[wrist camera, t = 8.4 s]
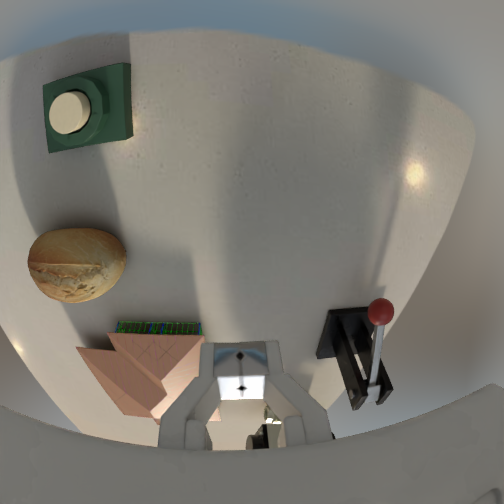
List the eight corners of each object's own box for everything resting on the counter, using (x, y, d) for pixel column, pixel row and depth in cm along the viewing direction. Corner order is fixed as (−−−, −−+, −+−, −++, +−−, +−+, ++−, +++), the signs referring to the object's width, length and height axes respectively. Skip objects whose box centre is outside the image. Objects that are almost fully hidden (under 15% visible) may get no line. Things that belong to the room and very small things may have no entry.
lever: (364, 296, 34) (376, 302, 31) (386, 294, 35) (400, 300, 31) (352, 394, 36) (361, 407, 32) (373, 390, 36) (383, 401, 32)
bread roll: (30, 223, 29) (-1, 255, 23) (118, 207, 30) (90, 242, 23) (54, 279, 35) (31, 315, 28) (138, 274, 35) (122, 317, 28)
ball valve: (241, 413, 58) (246, 481, 43) (249, 397, 54) (255, 473, 39) (312, 412, 61) (324, 474, 46) (326, 396, 57) (342, 464, 42)
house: (129, 408, 56) (125, 436, 49) (71, 314, 38) (54, 352, 32) (221, 413, 57) (222, 443, 51) (205, 318, 40) (202, 364, 33)
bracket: (328, 309, 41) (356, 386, 29) (379, 305, 41) (415, 373, 30) (315, 354, 47) (333, 422, 35) (361, 348, 47) (385, 410, 36)
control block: (58, 148, 25) (39, 158, 22) (53, 84, 21) (33, 86, 17) (133, 136, 26) (119, 143, 22) (130, 64, 21) (116, 61, 18)
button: (60, 133, 21) (51, 137, 20) (57, 96, 19) (47, 98, 17) (92, 126, 21) (83, 129, 20) (89, 87, 19) (81, 88, 18)
